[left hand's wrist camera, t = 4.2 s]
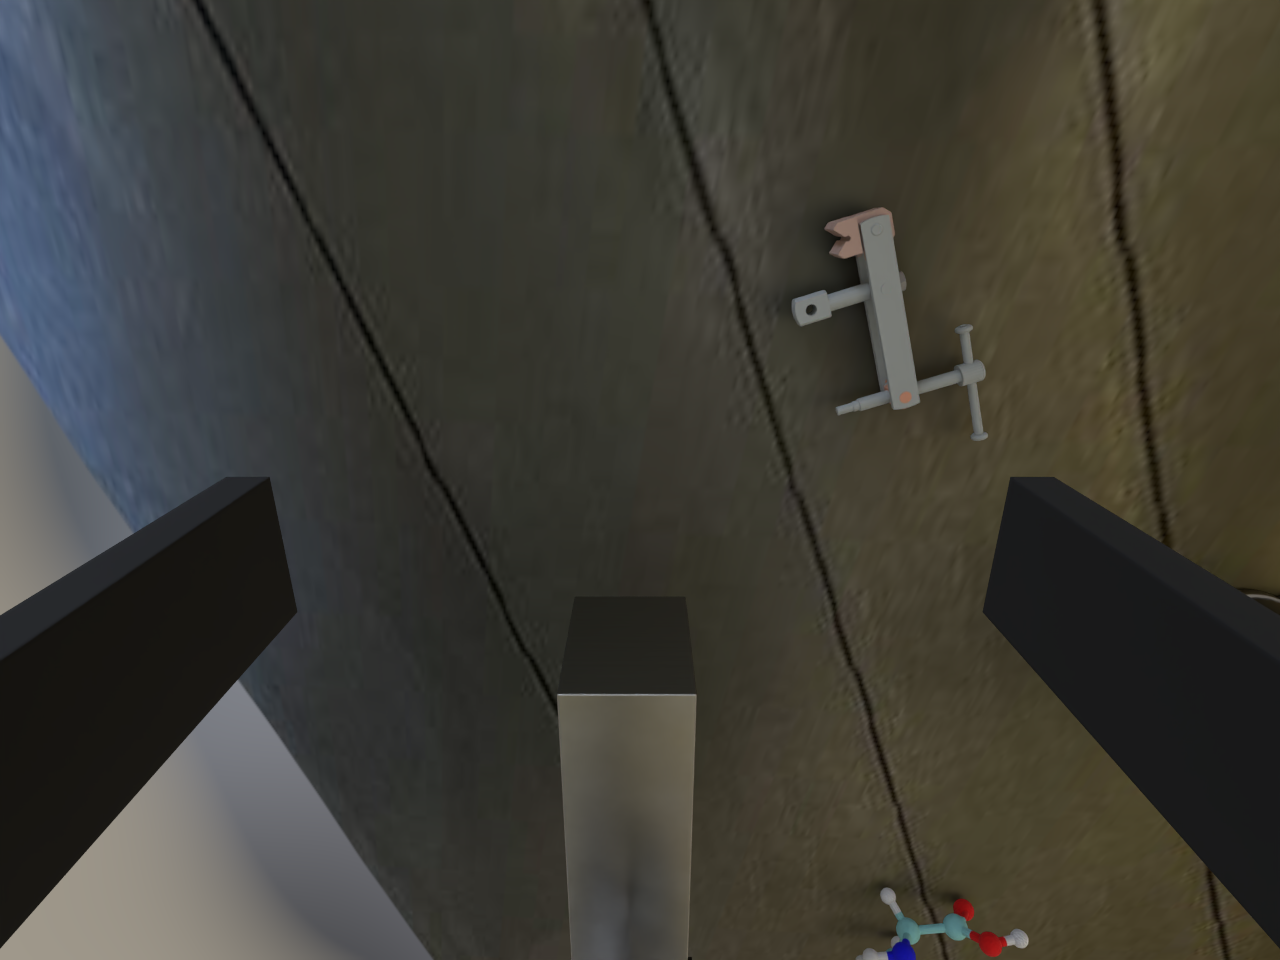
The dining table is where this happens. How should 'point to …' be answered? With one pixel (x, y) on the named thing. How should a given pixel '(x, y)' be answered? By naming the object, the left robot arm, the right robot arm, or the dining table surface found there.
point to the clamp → (886, 317)
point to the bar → (628, 776)
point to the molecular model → (954, 925)
